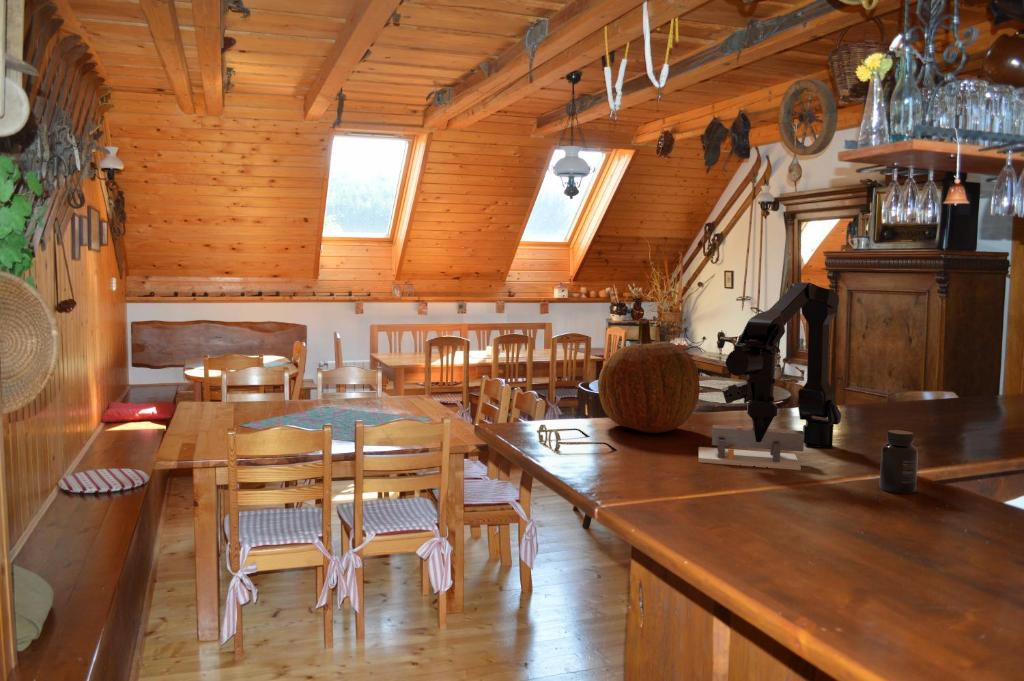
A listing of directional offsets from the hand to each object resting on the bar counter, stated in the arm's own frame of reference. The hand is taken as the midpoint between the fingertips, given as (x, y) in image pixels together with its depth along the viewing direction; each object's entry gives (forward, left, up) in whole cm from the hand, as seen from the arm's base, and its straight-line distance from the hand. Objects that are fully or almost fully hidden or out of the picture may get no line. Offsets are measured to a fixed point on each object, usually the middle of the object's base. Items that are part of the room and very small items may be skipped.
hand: (757, 440), depth 191 cm
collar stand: (+2, 0, -5) cm, 5 cm away
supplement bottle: (-26, +17, -5) cm, 32 cm away
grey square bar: (0, 0, -2) cm, 2 cm away
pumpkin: (+28, -27, -5) cm, 39 cm away
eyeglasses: (+43, -3, -6) cm, 43 cm away
